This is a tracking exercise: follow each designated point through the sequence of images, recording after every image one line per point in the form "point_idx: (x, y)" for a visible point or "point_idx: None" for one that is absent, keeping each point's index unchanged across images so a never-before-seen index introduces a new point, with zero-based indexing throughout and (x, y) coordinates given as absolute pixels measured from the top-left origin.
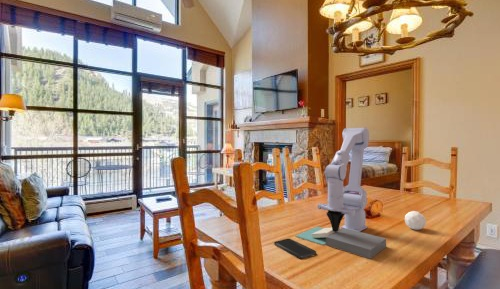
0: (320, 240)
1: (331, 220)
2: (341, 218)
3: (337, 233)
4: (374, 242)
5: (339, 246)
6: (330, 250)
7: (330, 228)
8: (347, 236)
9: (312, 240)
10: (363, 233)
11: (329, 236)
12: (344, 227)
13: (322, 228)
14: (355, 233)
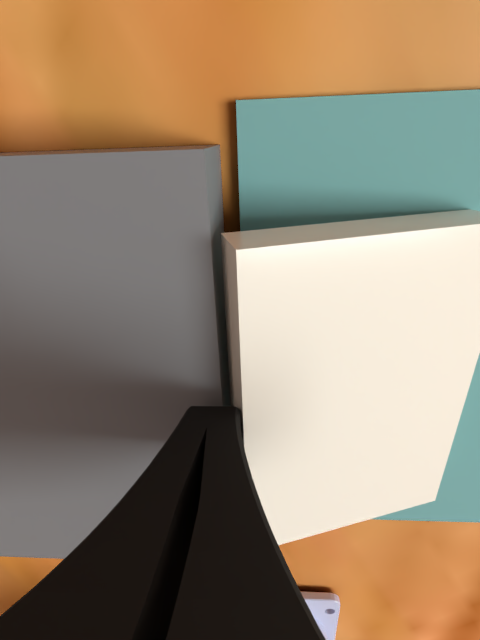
0: (336, 208)
1: (223, 551)
2: None
3: (173, 398)
4: None
5: (8, 153)
6: (63, 8)
7: (339, 486)
8: (31, 389)
9: (431, 119)
10: (15, 545)
11: (173, 216)
12: (309, 606)
13: (471, 513)
14: (53, 508)
